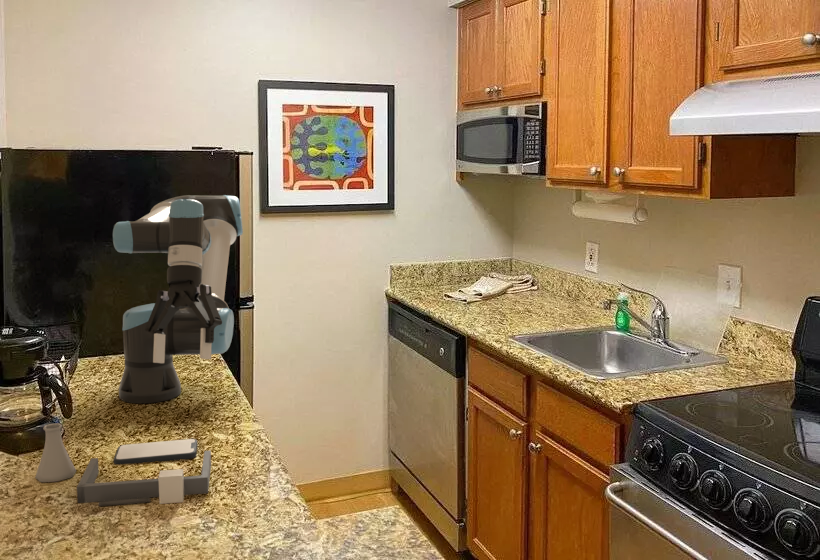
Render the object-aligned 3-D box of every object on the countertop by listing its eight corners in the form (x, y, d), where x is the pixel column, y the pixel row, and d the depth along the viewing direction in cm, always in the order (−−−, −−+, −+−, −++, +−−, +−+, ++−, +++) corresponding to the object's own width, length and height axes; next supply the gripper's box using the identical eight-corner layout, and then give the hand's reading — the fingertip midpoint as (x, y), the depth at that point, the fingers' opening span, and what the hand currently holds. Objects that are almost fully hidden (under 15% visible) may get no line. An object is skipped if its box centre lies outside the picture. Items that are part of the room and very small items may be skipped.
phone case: (113, 468, 153) (196, 460, 156) (112, 460, 153) (195, 452, 156) (119, 451, 161) (197, 444, 165) (118, 444, 161) (197, 437, 165)
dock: (92, 473, 149) (90, 448, 148) (211, 464, 153) (210, 440, 153) (74, 510, 133) (72, 483, 132) (207, 500, 138) (206, 473, 137)
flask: (35, 486, 143) (32, 435, 141) (34, 472, 149) (30, 423, 148) (78, 479, 146) (74, 429, 145) (75, 465, 152) (71, 417, 151)
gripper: (131, 270, 176) (127, 363, 172) (216, 256, 165) (214, 355, 161) (156, 276, 183) (152, 365, 178) (239, 263, 172) (237, 358, 168)
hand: (181, 360), depth 170 cm, fingers open, 13 cm apart
